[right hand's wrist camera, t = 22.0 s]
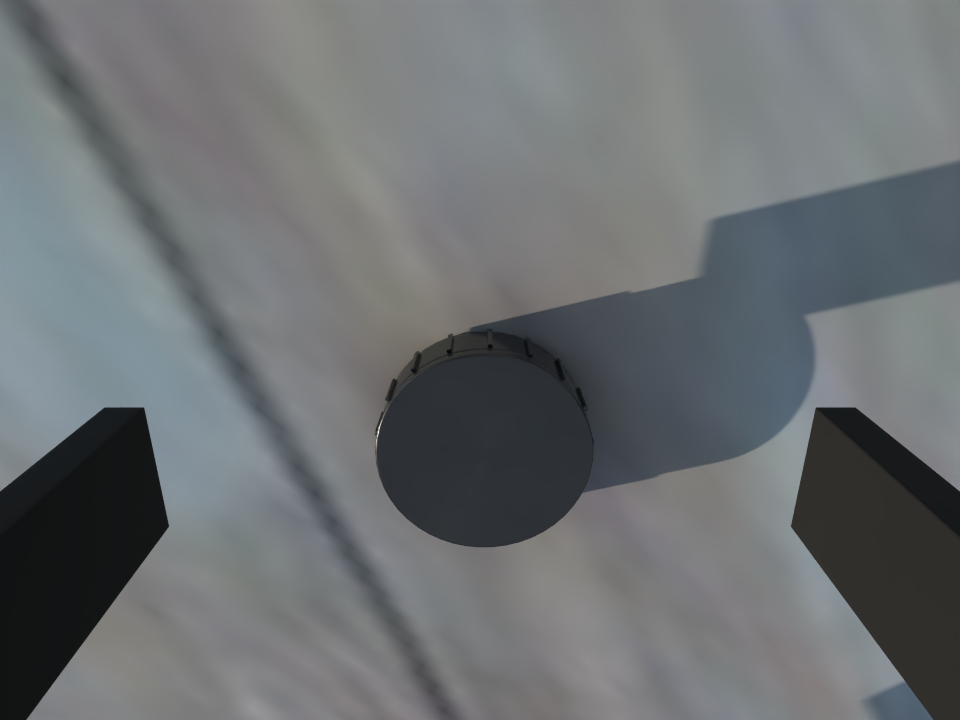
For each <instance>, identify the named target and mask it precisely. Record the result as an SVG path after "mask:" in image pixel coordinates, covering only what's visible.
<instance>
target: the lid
mask: <svg viewBox="0 0 960 720" xmlns="http://www.w3.org/2000/svg"><path fill="white" fill-rule="evenodd" d="M385 400H386V401H387V403H386V406H385V409H384V412H382V413H381V416H380V419H379V422H378V425H377V428H376V431H375V435H376V436H377V437H376V450H375V453H376V464H377V468H378V473H379V477H380V479H381V482H382V484H383V487H384V489H385V491H386V493H387V494H388V496H389V498H390V500H391V501H392V502H393V504H394V505H395V506H396V508H397V509H398V510H399V511H400V512H401V513H402V514H403V515H404V516H405V517H406V518H407V519H408V520H409V521H411V522H412V523H413V524H414V525H416V526H417V527H418V528H420V529H422V530H423V531H425V532H427V533H428V534H430V535H432V536H435V537H437V538H439V539H441V540H445V541H448V542H451V543H454V544H459V545H464V546H472V547H497V546H505V545H510V544H514V543H518V542H521V541H524V540H527V539H529V538H532V537H534V536H536V535H538V534H540V533H542V532H544V531H545V530H547V529H548V528H550V527H551V526H553V525H554V524H556V523H557V522H558V521H559V520H560V519H561V518H563V517H564V516H565V515H566V514H567V513H568V511H569V510H570V509H571V508H572V507H573V506H574V504H575V503H576V501H577V500H578V499H579V497H580V496H581V494H582V492H583V490H584V488H585V486H586V484H587V481H588V478H589V475H590V471H591V466H592V461H593V445H594V441H593V438H592V433H591V429H590V426H589V422H588V419H587V416H586V413H585V411H586V410H588V409H587V406H586V403H585V401H584V398H583V395H582V392H581V390H580V388H577V389H576V387H575V384H574V383H573V381H572V379H571V378H570V376H569V374H568V373H567V372H566V370H565V369H564V367H563V364H562V361H561V360H560V359H559V358H558V359H557V360H556V359H555V358H554V357H553V356H551V355H550V354H549V353H547V352H546V351H545V350H543V349H542V348H540V347H539V346H537V345H535V344H533V343H531V341H530V339H529V338H527V337H526V339H525V340H524V339H522V338H519V337H516V336H512V335H508V334H504V333H496V332H492V329H488V330H487V332H472V333H465V334H460V335H456V336H453V334H449V335H448V338H446V339H444V340H442V341H439V342H437V343H435V344H433V345H432V346H430V347H428V348H426V349H425V350H423V351H422V352H421V353H419V352H418V351H417V352H416V353H415V354H414V358H413V359H412V360H411V361H410V362H409V364H408V365H407V366H406V367H405V368H404V369H403V371H402V372H401V373H400V375H399V376H398V378H397V379H396V380H395V379H393V380H392V382H391V385H390V388H389V390H388V393H387V396H386V399H385Z"/></svg>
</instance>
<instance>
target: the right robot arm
mask: <svg viewBox="0 0 960 720" xmlns="http://www.w3.org/2000/svg"><path fill="white" fill-rule="evenodd" d="M168 527H169V524H168V519H167V515H166V510H165V505H164V500H163V496H162V491H161V486H160V481H159V476H158V472H157V467H156V462H155V457H154V453H153V448H152V443H151V438H150V433H149V429H148V424H147V419H146V414H145V410H144V408H103V409H102V410H101V411H100V412H98V413H97V414H96V415H95V416H94V417H92V418H91V419H90V420H89V421H87V422H86V423H85V424H84V425H82V426H81V427H80V428H79V429H77V430H76V431H75V432H74V433H72V434H71V435H70V436H69V437H67V438H66V439H65V440H64V441H62V442H61V443H60V444H59V445H57V446H56V447H55V448H54V449H53V450H51V451H50V452H49V453H48V454H46V455H45V456H44V457H43V458H41V459H40V460H39V461H38V462H36V463H35V464H34V465H33V466H31V467H30V468H29V469H28V470H26V471H25V472H24V473H23V474H21V475H20V476H19V477H18V478H16V479H15V480H14V481H13V482H11V483H10V484H9V485H8V486H7V487H5V488H4V489H3V490H2V491H0V720H26V719H27V718H28V717H29V715H30V714H31V713H32V711H33V710H34V709H35V707H36V706H37V705H38V703H39V702H40V700H41V699H42V698H43V696H44V695H45V694H46V692H47V691H48V690H49V688H50V687H51V686H52V684H53V683H54V682H55V680H56V679H57V677H58V676H59V675H60V673H61V672H62V671H63V669H64V668H65V667H66V665H67V664H68V663H69V661H70V660H71V659H72V657H73V656H74V654H75V653H76V652H77V650H78V649H79V648H80V646H81V645H82V644H83V642H84V641H85V640H86V638H87V637H88V636H89V634H90V633H91V631H92V630H93V629H94V627H95V626H96V625H97V623H98V622H99V621H100V619H101V618H102V617H103V615H104V614H105V612H106V611H107V610H108V608H109V607H110V606H111V604H112V603H113V602H114V600H115V599H116V598H117V596H118V595H119V594H120V592H121V591H122V589H123V588H124V587H125V585H126V584H127V583H128V581H129V580H130V579H131V577H132V576H133V575H134V573H135V572H136V571H137V569H138V568H139V566H140V565H141V564H142V562H143V561H144V560H145V558H146V557H147V556H148V554H149V553H150V552H151V550H152V549H153V548H154V546H155V545H156V543H157V542H158V541H159V539H160V538H161V537H162V535H163V534H164V533H165V531H166V530H167V529H168ZM791 527H792V529H793V530H794V531H795V533H796V534H797V535H798V537H799V538H800V539H801V541H802V542H803V543H804V545H805V546H806V548H807V549H808V550H809V552H810V553H811V554H812V556H813V557H814V558H815V560H816V561H817V562H818V564H819V565H820V566H821V568H822V569H823V571H824V572H825V573H826V575H827V576H828V577H829V579H830V580H831V581H832V583H833V584H834V585H835V587H836V588H837V589H838V591H839V592H840V594H841V595H842V596H843V598H844V599H845V600H846V602H847V603H848V604H849V606H850V607H851V608H852V610H853V611H854V612H855V614H856V615H857V617H858V618H859V619H860V621H861V622H862V623H863V625H864V626H865V627H866V629H867V630H868V631H869V633H870V634H871V635H872V637H873V638H874V640H875V641H876V642H877V644H878V645H879V646H880V648H881V649H882V650H883V652H884V653H885V654H886V656H887V657H888V659H889V660H890V661H891V663H892V664H893V665H894V667H895V668H896V669H897V671H898V672H899V673H900V675H901V676H902V677H903V679H904V680H905V682H906V683H907V684H908V686H909V687H910V688H911V690H912V691H913V692H914V694H915V695H916V696H917V698H918V699H919V700H920V702H921V703H922V705H923V706H924V707H925V709H926V710H927V711H928V713H929V714H930V715H931V717H932V718H933V719H934V720H960V491H958V490H957V489H956V488H955V487H954V486H952V485H951V484H950V483H949V482H947V481H946V480H945V479H944V478H942V477H941V476H940V475H939V474H937V473H936V472H935V471H934V470H932V469H931V468H930V467H929V466H927V465H926V464H925V463H924V462H922V461H921V460H920V459H919V458H917V457H916V456H915V455H914V454H912V453H911V452H910V451H909V450H908V449H906V448H905V447H904V446H903V445H901V444H900V443H899V442H898V441H896V440H895V439H894V438H893V437H891V436H890V435H889V434H888V433H886V432H885V431H884V430H883V429H881V428H880V427H879V426H878V425H876V424H875V423H874V422H873V421H871V420H870V419H869V418H868V417H866V416H865V415H864V414H863V413H862V412H860V411H859V410H858V409H857V408H816V410H815V414H814V419H813V424H812V429H811V433H810V438H809V443H808V448H807V453H806V457H805V462H804V467H803V472H802V476H801V481H800V486H799V491H798V496H797V500H796V505H795V510H794V515H793V519H792V524H791Z"/></svg>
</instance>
